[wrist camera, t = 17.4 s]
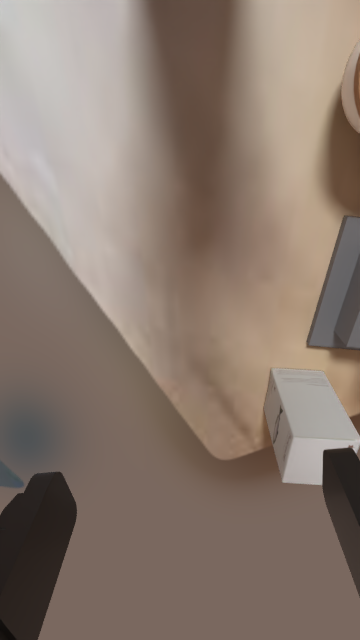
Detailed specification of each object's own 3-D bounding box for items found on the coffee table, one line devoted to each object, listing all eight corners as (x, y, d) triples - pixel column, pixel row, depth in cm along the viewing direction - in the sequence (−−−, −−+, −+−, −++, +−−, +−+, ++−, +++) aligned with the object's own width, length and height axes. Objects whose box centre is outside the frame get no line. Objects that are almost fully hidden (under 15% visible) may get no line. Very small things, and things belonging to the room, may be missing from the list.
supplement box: (270, 366, 47) (293, 435, 35) (324, 369, 46) (365, 440, 35) (261, 408, 50) (280, 484, 39) (312, 411, 50) (346, 488, 38)
